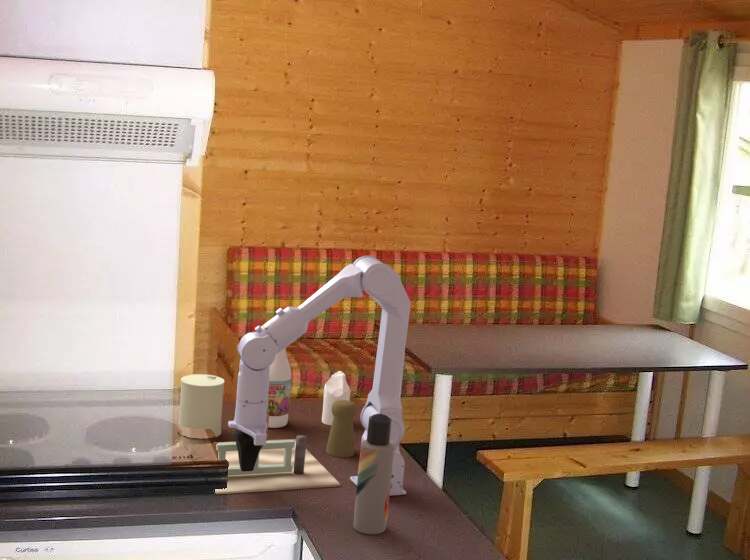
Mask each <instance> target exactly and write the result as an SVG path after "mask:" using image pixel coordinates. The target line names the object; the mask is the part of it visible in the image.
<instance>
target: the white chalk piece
mask: <svg viewBox="0 0 750 560" xmlns="http://www.w3.org/2000/svg"><path fill="white" fill-rule="evenodd" d="M350 399H351V388H350V386H349V384H348V382H347V380H346V374H345V373H344V372H343V371H342V370H338V371H336V372H334V374H331V376H330V378H329V379H328V381H326V383H325V384H324V389H323V401H322V402H323V403H322V404H323V405H322V415H321V423H323V424H324V425H327V426H332V421H333V417H334V416H333V414H332V405H333V403H334V402H335V401H337V400H348V401H351V400H350Z"/></svg>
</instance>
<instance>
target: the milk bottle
mask: <svg viewBox="0 0 750 560" xmlns="http://www.w3.org/2000/svg"><path fill="white" fill-rule="evenodd" d="M278 347H279V346H278ZM279 348H280V347H279ZM286 348H287V347H286ZM286 348H284V349H283V350H281V351H280V352H279V353H276V355H275V359H274V361H273V363H272V364H271V365H270V370H269V375H270V380H269V392H268V405H267V414H269V423H268V429H270V428H271V429H277V428H283V427H285V426H286V425H287V424H288V421H289V410H290V400H291V385H292V369H291V365H290V362H289V360H288V359H289V358H288V356H287V350H286ZM280 349H281V348H280Z"/></svg>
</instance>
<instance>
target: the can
mask: <svg viewBox="0 0 750 560" xmlns="http://www.w3.org/2000/svg"><path fill="white" fill-rule="evenodd" d="M225 382H226V381H225V379H224V378H222V377H219V376H218V375H213V374H203V373H196V374H195V373H194V374H188V375H184V376H182V377H181V378H180V396H179V398H180V399H179V413H178V424H181V425H182V426H184V427H187V428H192V429H211V430H212V431H213V432H214V434H215V436H216V437H215V438H218V437H219V436H221V434H222V416H223V415H222V414H223V400H224V389H225V388H224V387H225Z"/></svg>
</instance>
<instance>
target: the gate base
mask: <svg viewBox="0 0 750 560" xmlns="http://www.w3.org/2000/svg"><path fill="white" fill-rule="evenodd" d="M266 422H267V428H266V435H267V436H268V432H269V428H268V423H269V414H267V418H266ZM295 437H296V438H289V439H288V438H287V439H285V438H284V439H282V440H294V441H295V447H294V448H292V457H291V464H292V465H293V470H292V472H280V473H263V474H246V475H229V476H228V482H227V488H225V489H224V488H223V489H215V492H214V493H215V494H216V495H226V494H227V495H228V494H243V493H255V492H256V493H258V492H273V491H274V492H275V491H288V490H289V491H290V490H303V489H318V488H319V489H320V488H321V489H322V488H330V487H331V488H333V487H336V488H337V487H341V483H340V482H339V481H338V480H337V479H336V478H335V477H334V476H333V475H332V474H331V472H329V471H328V470H327V469H326V468H325V466H323V465H322V464H321V462H319V460H317V458H315V457H314V455H312V454H311V452H310V451H309V450H308V449H307V440H308V437H307V436H306V435H302V434H301V435H300V434H298V435H296V436H295ZM278 440H279V439H267V440H266V441H278ZM234 442H235V441H224V442H221V441H220V442H219V441H218V443H234ZM225 459H226V460H227V461H228V462H229V467H239V466H240V464H239V457H238V451H226V458H225ZM283 460H284V448H282V449H262V450H260V452H259V463H258V465H275V464H283Z"/></svg>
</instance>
